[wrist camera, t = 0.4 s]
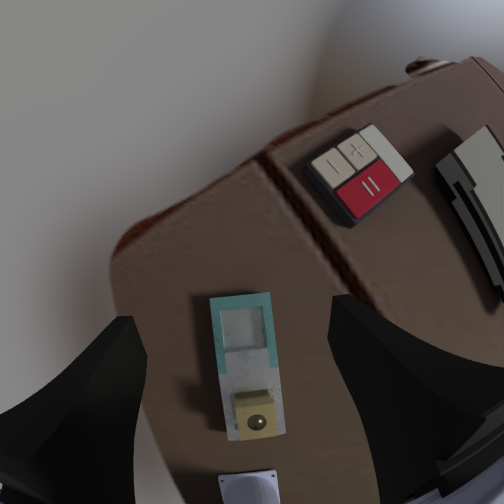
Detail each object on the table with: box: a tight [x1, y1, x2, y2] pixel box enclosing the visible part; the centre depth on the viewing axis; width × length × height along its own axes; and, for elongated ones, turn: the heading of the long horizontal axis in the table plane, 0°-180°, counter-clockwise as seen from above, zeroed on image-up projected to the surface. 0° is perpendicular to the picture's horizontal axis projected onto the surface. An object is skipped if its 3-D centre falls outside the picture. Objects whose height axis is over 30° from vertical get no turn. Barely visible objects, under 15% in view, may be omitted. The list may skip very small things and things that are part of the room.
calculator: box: [303, 123, 415, 229], centre depth 40 cm, size 11×4×15 cm
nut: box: [234, 389, 278, 441], centre depth 29 cm, size 4×4×6 cm
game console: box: [433, 125, 504, 303], centre depth 38 cm, size 21×32×8 cm, turn 33°
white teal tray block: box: [210, 292, 286, 441], centre depth 33 cm, size 18×7×3 cm, turn 7°
